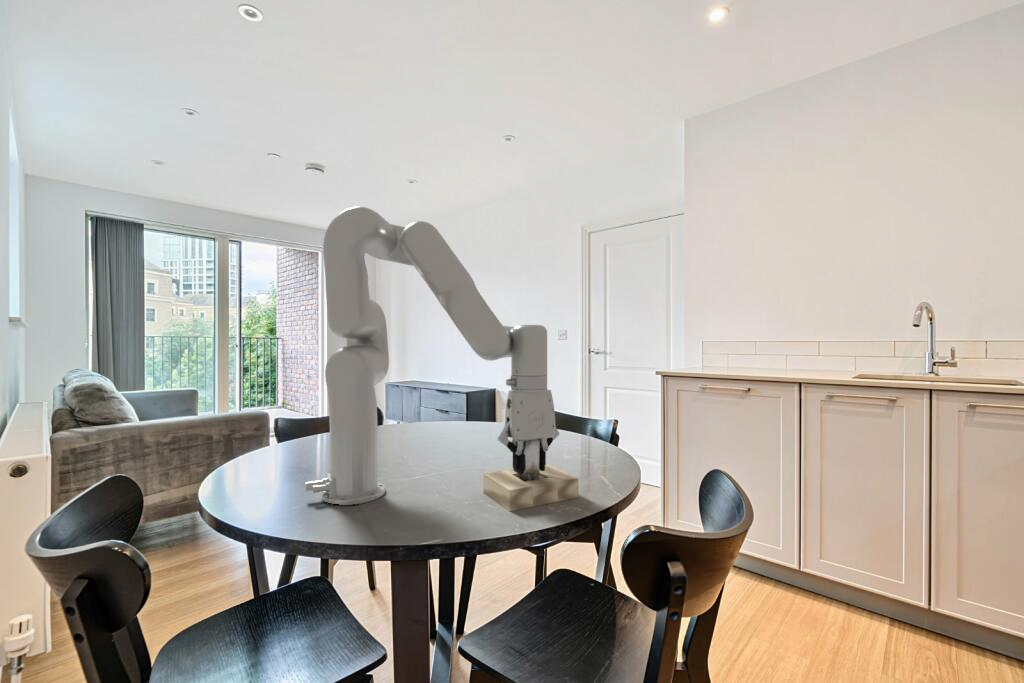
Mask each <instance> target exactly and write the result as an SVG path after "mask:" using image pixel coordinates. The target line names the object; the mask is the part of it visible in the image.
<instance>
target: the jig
mask: <svg viewBox="0 0 1024 683" xmlns="http://www.w3.org/2000/svg"><path fill="white" fill-rule="evenodd" d="M482 476H483V494H485V495H486V496H488V497H489V498H490V499H492V500H493V502H496V503H497V504H499V506H501V507H503V508H504V509H506V510H507V511H508V512H513V511H519V510H523V509H528V508H533V507H537V506H543V505H549V504H553V503H558V502H561V501H563V502H564V501H568V500H573V499H577V498H579V477H577V476H575V475H573V474H570V473H569V472H566V471H564V470H562V469H559V468H557V467H555V466H553V465H550V464H548V463H546V464H545V471H541V470H540V479H538V480H532V481H527V482H524V481H523V480H521V479H519V473H517V472H515V471H514V469H513V468H511V469H505V470H501V471H493V472H487V473H483V475H482Z"/></svg>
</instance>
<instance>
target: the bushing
mask: <svg viewBox="0 0 1024 683" xmlns="http://www.w3.org/2000/svg"><path fill="white" fill-rule="evenodd" d="M522 455H524V473H523V474H521V475H520V474H519V479H521V480H523V481H524V482H527V481H532V480H538V479H540V439H536V440H528V441H524V442H523V447H522Z"/></svg>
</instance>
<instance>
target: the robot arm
mask: <svg viewBox="0 0 1024 683" xmlns="http://www.w3.org/2000/svg"><path fill="white" fill-rule="evenodd" d="M322 245H323V248H322V249H323V250H322V251H323V265H324V275H325V276H324V277H325V294H326V295H325V296H326V297H325V298H326V309H327V310H326V313H327V323H328V327H329V328H330V331H332V333H333V334H334V335H335V336H337V337H340V338H342V339H345V340H346V346H345V345H344V346H342V347H340V348H338V349H336V350H335V351H334V352H333V353H332V354H331V355H330V356H329V358H328V359H327V362H326V364H325V370H324V371H325V372H324V373H325V375H324V377H325V385H326V390H327V397H328V412H329V416H328V418H329V419H328V421H329V422H328V423H329V473H326V477H322V478H321V479H320V480H309V481H305V484H304V485H305V486H304V488H305V492H312V493H313V494H314V493H320V492H321V500H322V499H323V500H324V501H325V502H324V501H323V500H322V501H323V502H324V503H326V502H328V503H332V504H331V505H333V504H339V505H338V506H353V504H354V505H360V504H365V503H369V502H373V501H375V500H377V499H380V498H381V497H383V496H384V495H385V493H386V486H385V485H384V484H383V483H382V482H379V481H378V480H379V476H378V470H379V469H378V404H377V403H378V402H377V395H376V389H375V385H378V384H379V383H381V382H382V381H383V380H384V379H385V378H386V376H387V374H388V371H389V366H390V357H389V356H390V354H389V343H388V330H387V328H388V327H387V319H386V315H385V313H384V310H383V308H382V307H381V305H380V304H379V303H377V302H376V301H374V300H373V299H371V297H370V291H369V275H368V269H367V264H366V260H365V257H366V256H365V255H368V256H370V257H373V258H376V259H378V260H384V261H387V262H393V263H395V264H401V265H402V264H403V265H406V266H412V267H414V268H415V270H416V271H417V272H418V274H419V275H420V276H421V278H422V279H423V280H424V282H425V284H426V285H427V286H428V289H430V291H431V292H432V294H433V295H434V296H435V298H436V299H437V301H438V302H439V304H440V306H441V307H442V308H443V309H444V311H445V312H446V313H447V314H448V317H449V318H450V319H451V320H452V322H453V324H454V325H455V327H456V328H457V330H458V331H459V333H460V334H461V335H462V337H463V338H464V340H465V341H466V342H467V344H468V345H469V347H470V348H471V349H472V351H473V352H474V353H475V355H477V356H478V357H479V358H481V359H483V360H485V361H489V362H490V361H496V360H500V359H504V358H505V359H506V358H510V359H511V362H510V364H511V369H510V370H511V371H510V372H511V375H510V378H507V379H505V380H506V381H505V385H506V386H507V387H509V386H510V390H508V395H507V399H506V405H505V413H504V427H503V428H502V430H501V432H500V434H499V436H498V437H497V441H498V442H500V444H503V445H504V446H505V447H506V448H507V449H508V450H509V451H510V452H511V453H512V469H514V471H515V472H517V473H519V474H520V475H521V474H523V473H524V455H522V447H523V442H524V441H528V440H536V439H540V470H541V471H545V464H547V463H546V462H547V461H546V457H547V456H546V453H547V452H548V450H549V447H550V446H551V444H552V443H553V441H554V440H555V439H556V438H558V436H560V432H559V430H558V429H557V427H556V412H555V406H554V399H553V394H552V390H551V389H548V330H547V328H546V326H544V325H541V324H518V325H515V326H510V325H509V326H508V325H503V324H502V323H501V321H500V320H499V318H498V317H497V316H496V315H495V313H494V312H493V310H492V309H491V307H490V305H488V303H487V302H486V300H485V299H484V298H483V296H482V295H481V293H480V292H479V290H478V288H477V286H476V284H475V281H474V279H473V277H472V276H471V275H470V273H469V272H468V270H467V269H466V267H465V266H464V264H463V263H462V262H461V261H460V260H459V258H458V257H457V255H456V254H455V252H454V251H453V250H452V248H451V247H450V246H449V244H448V243H447V241H446V240H445V239H444V237H443V235H442V234H441V233H440V232H439V230H438V229H437V228H436V227H435V226H434V225H433V224H431V223H429V222H427V221H423V220H416V221H413V222H411V223H410V224H408V225H406V226H405V227H404V226H401V225H396V224H393V223H390V222H388V221H387V220H386V219H385V218H384V217H383V215H380V214H379V213H378V212H377V211H376V210H373V209H371V208H369V207H365V206H353V207H349V208H346V209H344V210H343V211H341V212H340V213H338V214H337V215H336V216H335V217H334V218H333V219H332V220H331V221H330V223H329V225H328V226H327V228H326V231H325V234H324V238H323V244H322ZM509 438H511V440H509ZM328 503H327V504H328Z"/></svg>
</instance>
